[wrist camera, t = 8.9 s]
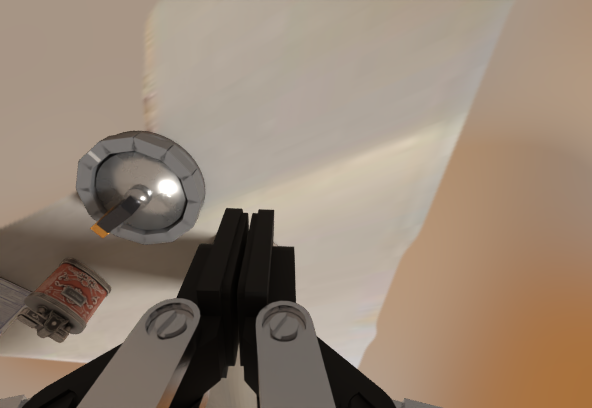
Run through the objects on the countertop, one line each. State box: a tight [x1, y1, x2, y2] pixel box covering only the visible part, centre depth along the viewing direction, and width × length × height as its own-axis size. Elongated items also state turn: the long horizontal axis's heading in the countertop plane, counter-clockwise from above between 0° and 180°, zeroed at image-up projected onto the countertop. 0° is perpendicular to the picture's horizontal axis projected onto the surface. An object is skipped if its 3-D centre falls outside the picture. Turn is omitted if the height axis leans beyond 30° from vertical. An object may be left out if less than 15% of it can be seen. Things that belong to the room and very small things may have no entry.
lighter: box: [17, 258, 111, 343], centre depth 42 cm, size 8×3×10 cm, turn 34°
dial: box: [90, 151, 188, 238], centre depth 36 cm, size 10×10×5 cm
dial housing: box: [76, 131, 205, 245], centre depth 38 cm, size 14×14×3 cm
